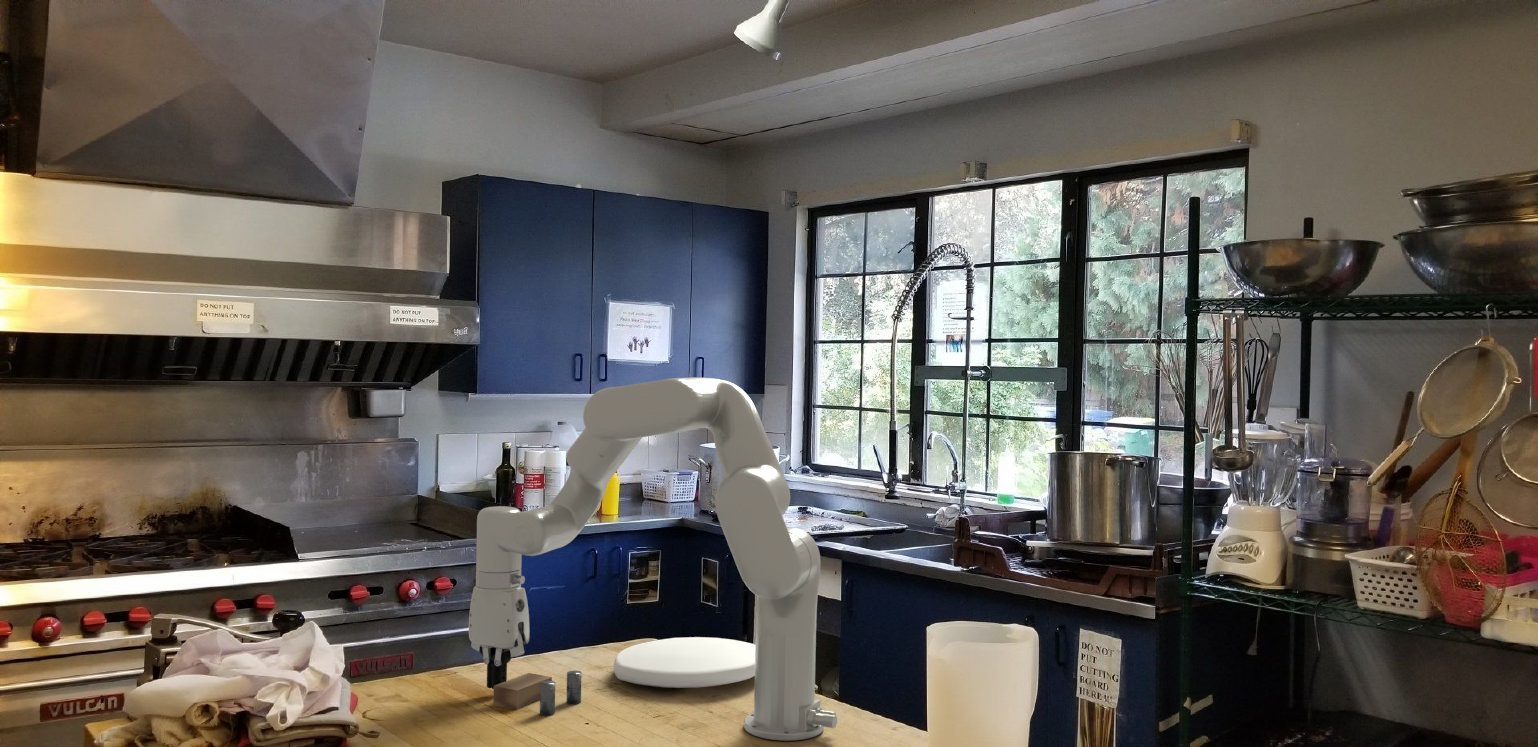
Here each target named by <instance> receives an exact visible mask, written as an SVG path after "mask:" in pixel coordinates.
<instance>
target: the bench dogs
mask: <svg viewBox="0 0 1538 747" xmlns="http://www.w3.org/2000/svg"><path fill="white" fill-rule="evenodd" d="M565 701H566V702H565V703H566V704H568V705H578V704H581V703H582V671H580V670H570V671H567V672H566V700H565ZM555 713H556V682H555V681H553V680H552V681H543V682H541V683H540V701H539V715H540V716H544V717H548V716H549V717H551V716H554V715H555Z"/></svg>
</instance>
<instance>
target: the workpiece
mask: <svg viewBox="0 0 1538 747" xmlns="http://www.w3.org/2000/svg"><path fill="white" fill-rule="evenodd" d="M543 681H553V677H552V676H547V675H542V674H537V673H532V672H531V673H530V672H528V673H525V674H522V675H519V676H516V677H514V678H511V679H508V680H507V681H505V682H503V683H500V684H497V685H495V686H494V689H493V701H492V703H493V704H492V705H493V706H495V707H496V706H497V707H500V708H505V709H510V710H516V711H518V710H521V709H523V708H525V707H528V706H531V705H533V704H535V703H538V702H540V683H541V682H543Z"/></svg>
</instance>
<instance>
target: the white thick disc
mask: <svg viewBox="0 0 1538 747" xmlns="http://www.w3.org/2000/svg"><path fill="white" fill-rule="evenodd" d="M613 671H614V675H615V677H616V678H617V679H618V680H620V681H624V682H628V683H630V684H635V685H641V686H649V687H650V686H651V687H657V688H658V687H660V688H675V689H682V688H683V689H685V688H688V689H689V688H690V689H691V688H692V689H693V688H705V687H706V688H709V687H716V686H722V685H728V684H733V683H739V682H741V681H742V682H744V681H747V680H749V679H751V678H753V677H755V643H751V642H746V641H742V640H737V639H731V638H730V639H729V638H721V637H705V636H704V637H703V636H702V637H701V636H694V637H691V636H689V637H671V638H663V639H658V640H657V639H656V640H653V641H648V642H647V641H645V642H642V643H638V644H635V645H631V646H628V647H627V648H625V649H622V650H621V651H620V652H618V653H617V654H616V656H615V658H614V662H613Z"/></svg>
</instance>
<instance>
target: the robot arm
mask: <svg viewBox="0 0 1538 747" xmlns="http://www.w3.org/2000/svg"><path fill="white" fill-rule="evenodd" d="M582 417H583V420H582V421H583V424H584V426H585V428H584V429H583V431H581V433H580V435H579V436H578V437H577V438H576V440H575V441H574V442H573V443H572V445H571V446H570V448H568V450H567V452H566V456H565V459H566V462H567V465H568V466H569V468H570V470H569V474H568V477H567V480H566V482H565V483H564V485H563V486H562V488H561V489H560V490H559V492H558V493H557V495H556V496H555V497H554V499H553V500H552V501H551V502H550V503H549V504H548V505H546V506H542V507H538V508H534V509H530V510H525V511H521V510H520V509H519V508H517V507H514V506H513V507H512V506H505V505H504V506H503V505H502V506H501V505H498V506H488V507H487V506H486V507H483V508H482V509H480V510H479V511H478V514H477V516H476V518H477V519H476V558H475V560H476V563H475V568H476V569H475V586H474V587H473V589H472V594H471V599H470V604H469V605H470V606H469V614H468V615H469V616H468V639H469V640H470V642H471V644H470V646H471V648H472V649H473V650H475V651H477V652H479V653H480V654H481V656H482V658H483V663H484V664H485V665H486V688H487V689H492V690H494V686H495V685H497V684H500V683H503V682H505V681H508V680H507V679H508V678H507V677H508V673H507V672H508V663H511V660H512V659H513V658H514V657H519V656H522V655H524V654H525V649H524V645H527V644H528V643H529V642H530V614H529V606H528V598H527V594H526V592H527V591H526V589H525V587H522V585H524V584H525V581H526V578H525V576H524V575H522V559H523V558H522V556H526V557H527V556H529V557H530V556H531V557H535V556H540V555H543V554H545V553H549V552H551V551H554V550H556V549H561V548H563V547H565V546H567V545H568V544H570V543H571V542H572V541H573V540H574V539H575V538H576V537H577V536H578V535H579V534H580V533H581V532H582V530H583V529H584V528H585V526H586V525H587V524H588V522H589V521H590V519H592V517H593V516H594V514H595V513H596V511H597V510H598V508H599V506H600V505H601V502H602V501H603V498H604V495H605V493H606V491H607V488H608V485H609V483H610V481H611V479H612V478H613V477H614V475H615V474H616V472H617V471H618V470H619V469H620V467H621V465H622V464H623V463H624V462H625V461H626V459H627V458H628V457H629V456H630V454H631V453H632V451H633V450H634V449H635V448H636V447H637V445H638V444H639V443H640V441H641V440H642V438H646V437H654V436H660V435H667V434H668V435H669V434H675V433H683V432H689V431H694V430H696V431H697V430H701V429H707V430H709V431H710V432H711V433H712V436H713V441H714V447H715V450H716V453H717V457H718V459H719V462H721V465H722V468H723V471H724V474H725V476H724V477H723V479H722V480H721V482H720V483H719V485H718V487H717V490H716V493H715V509H716V515H717V518H718V522H719V525H720V526H721V530H722V532H723V535H724V537H725V540H726V541H727V545H728V547H729V550H730V552H731V554H732V557H733V560H734V563H735V565H736V567H737V570H738V572H739V574H740V577H741V579H742V581H743V582H744V584H745V586H746V587H747V588H748V589H749V591H751V592H752V593H753V594H754V595H756V596H757V600H756V601H757V602H756V616H755V617H756V618H755V643H754V644H755V676H754V696H753V698H754V700H753V701H754V702H753V703H754V705H753V712H752V713H750V714H748V715H747V716H746V717H745V718H744V720H743V728H744V729H745V731H746V732H748V733H749V734H751V735H752V736H754V737H758V738H760V739H765V740H771V741H772V740H773V741H800V740H801V741H803V740H806V739H807V740H808V739H811V738H814V737H817V736H818V735H820V734H821V733H823V732H824V728H828V729H835V728H836V727H837V724H838V717H837V714H836V713H837V712H836V711H831V710H824V709H823V708H822V707H821V699H818V698H815V697H816V692H815V691H816V690H815V688H816V652H817V651H816V647H817V642H816V641H817V613H818V612H817V611H818V593H819V586H820V577H821V554H820V549H819V547H818V544H817V542H816V541H815V539H814V538H813V537H812V535H811V534H809V533H808V532H807V531H806V530H804V529H801V528H797V527H793V526H787V525H786V521H785V520H784V519H785V518H784V517H783V516H784V514H785V513H786V512H787V511H788V508H789V506H790V504H791V491H790V487H789V484H788V482H787V480H786V477H785V475H784V473H783V471H782V468H781V465H780V463H779V460H778V458H777V455H776V453H775V451H774V448H773V446H772V444H771V441H770V439H769V437H768V435H767V432H766V429H765V427H764V425H763V423H762V419H761V417H760V415H759V412H758V410H757V408H756V406H755V403H754V402H753V400H752V399H751V397H749V395H748V394H747V393H746V392H745V391H744V390H743V388H741V387H739V386H738V385H736V384H735V383H732V382H731V381H728V380H724V379H721V378H720V379H719V378H713V377H694V376H693V377H692V376H691V377H690V376H689V377H675V378H673V377H671V378H665V379H659V380H658V379H657V380H653V381H646V382H641V383H634V384H628V385H620V386H610V387H606V388H602V389H599V390H598V391H596V392H594V393H593V394H592V395H590V397H589V398H588V400H587V401H586V404H585V406H584V408H583V416H582Z"/></svg>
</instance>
